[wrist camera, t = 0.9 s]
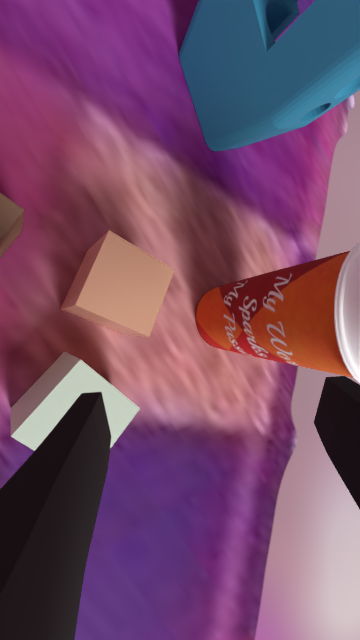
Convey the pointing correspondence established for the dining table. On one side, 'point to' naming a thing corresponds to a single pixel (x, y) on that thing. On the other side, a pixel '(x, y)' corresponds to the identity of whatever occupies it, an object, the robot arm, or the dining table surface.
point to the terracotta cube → (119, 287)
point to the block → (268, 66)
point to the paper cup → (291, 315)
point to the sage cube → (65, 401)
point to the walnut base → (9, 222)
